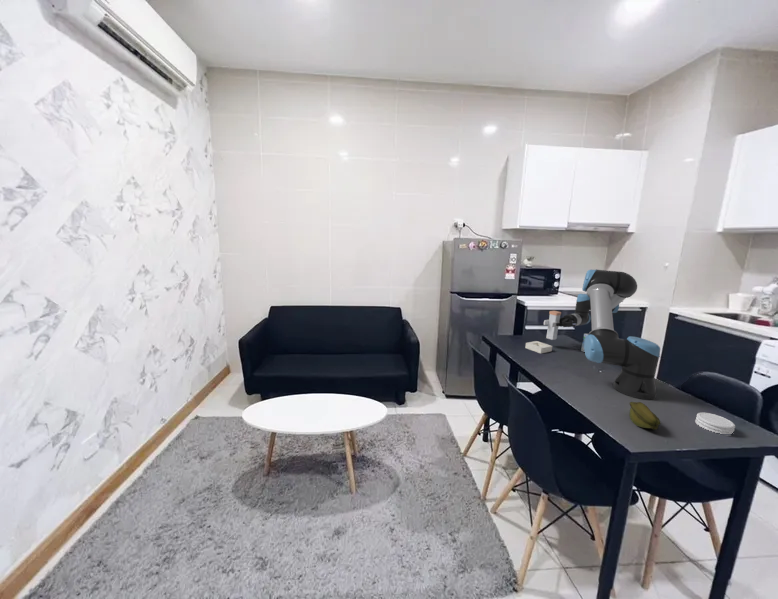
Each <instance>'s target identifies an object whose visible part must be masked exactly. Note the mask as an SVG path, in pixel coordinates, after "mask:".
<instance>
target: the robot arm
mask: <svg viewBox="0 0 778 599" xmlns="http://www.w3.org/2000/svg"><path fill="white" fill-rule="evenodd" d="M637 290H638V284H637V281H636V279H635V278H634V277H633V275H631V274H629V273H627V272H624V271H614V270H604V269H588V270H587V271H586V273H585V276H584V279H583V284H582V291H583V292H585V293H579V294H577V298H576V299H575V300H576V302H575V309H574V313H570V314H565V315H564V316H563V317H560V321H558V322H552V323H551V327H557V326H559V327H563V328H571V327H573V328H574V327H576V326H584V325H588V324H589V323H590V322H591V323H590V324H591V331H589V333H588V334H589V335H587V336H586V337H585V340H584V351H585V353H584V355H585V358H586V359H587V360H588V361H590V362H593V363H597V364H605V365H606V364H607V365H612V366H618V367H621V369H620V370H621V371H620V372H619V374H618V375H617V377H616V378H615V379H614V381H613V386H612V387H613V388H614V389H615V390H616V391H617V392H620V393H621V394H623V395H627V396H629V397H632V398H636V399H642V400H654V399H656V397H657V387H656V382H655V377H656V372H657V369H658V368H657V367H658V364H659V359H660V358H661V357H660V353H661V347H660V346H659V344H657V343H655V342H654V341H650V340H648V339H646V338H642V337H637V336H631V335H630V336H628V337H627V338H626V339H624V338H619V334H618V332H617V331H616V330H615V329H614V318H613V314H616V313H618V311H619V309H620V304H621V303H622V302H623V301H624V300H626V298H627V299H628V298H631V297H632V296H634V294H635V293H637ZM548 323H549V317H547V318H546V319H544V320H543V326H548Z"/></svg>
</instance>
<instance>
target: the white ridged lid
mask: <svg viewBox="0 0 778 599" xmlns="http://www.w3.org/2000/svg"><path fill="white" fill-rule="evenodd" d="M694 422H695V424H696V425H697V426H698V425H699V426H698V427H700V428H701V427H702V429H703V428H704V429H703V430H705V429H706V431H707V430H709V431H708V432H710V431H712V432H711V433H713V432H715V433H714V434H716V433H720V434H732V433H733V432H735V428H736V425H735V423H734V422H733V421H731V420H729V419H727V417H726V418H725V417H723V416H720V415H717V414H714V413H710V412H698V413H697V414H696V417H695V420H694ZM720 434H719V435H720ZM733 434H734V433H733Z"/></svg>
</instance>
